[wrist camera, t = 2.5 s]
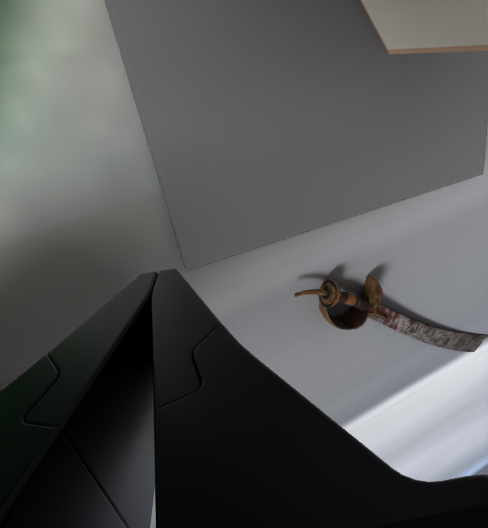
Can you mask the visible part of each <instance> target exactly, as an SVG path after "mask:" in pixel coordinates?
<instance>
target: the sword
mask: <svg viewBox="0 0 488 528" xmlns="http://www.w3.org/2000/svg"><path fill="white" fill-rule="evenodd" d="M306 294H317V295H319V301H320V303H319V308H320V311H321V312H322V314H323V316H324V317H325V319H326V320H327V321H328V322H329V323H330V324H331V325H333V326H335V327H337V328H339V329H344V330H350V329H357V328H359V327H361V326H362V325H363V324H364V323H365V322H366V320H367V318H368V317H369V318H371V319H373V320H375V321H377V322H379V323H382V324H384V325H386V326H388V327H390V328H392V329H394V330H397V331H399V332H401V333H404V334H406V335H408V336H410V337H413V338H415V339H417V340H420V341H423V342H425V343H428V344H431V345H435V346H438V347H442V348H446V349H450V350H456V351H466V352H474V351H475V350H476V349H477V348H478V347H479V346H480V344H481V343H482V340H484V339H485V338H487V337H488V335H481V334H471V333H463V332H456V331H450V330H445V329H440V328H437V327H433V326H430V325H427V324H424V323H421V322H418V321H416V320H413V319H411V318H408V317H406V316H404V315H402V314H399V313H397V312H395V311H393V310H391V309H389V308H387V307H385V306H383V305H380V304H379V303H380V302H381V300H382V296H383V292H382V288H381V286H380V285H379V284H378V283H377V282H376V281H375V280H374V279H373V278H371V277H366V281H365V286H364V289H363V291H362V293H361V294H360V296H356V295H355V294H353V293H351V292H342V291H340V288H339V286H338V285H337V283H336V282H335V281H334V280H333V279H327V280H325V282H324V283H323V284H322V286H321V288H320V289H312V290H305V291H301V292H298V293H295V294H294V295H295V297H297V296H300V295H306ZM338 301H339V302H341V303H343V304H345V305H349V306H352V307H351V308H350V309H349V310H347V311H346V312H345V313H344V314H343V315H341V316H329V315H328V312H327V308H330V307H332V306H335V305H336V304H337V303H338Z"/></svg>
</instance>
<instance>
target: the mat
mask: <svg viewBox="0 0 488 528" xmlns="http://www.w3.org/2000/svg"><path fill="white" fill-rule="evenodd" d="M105 3H106V6H107V10H108V13H109V16H110V19H111V23H112V26H113V29H114V33H115V36H116V39H117V43H118V46H119V49H120V53H121V56H122V59H123V63H124V66H125V69H126V73H127V76H128V79H129V82H130V86H131V89H132V92H133V96H134V99H135V102H136V106H137V109H138V112H139V116H140V119H141V122H142V126H143V129H144V132H145V135H146V139H147V142H148V145H149V149H150V152H151V155H152V159H153V162H154V165H155V169H156V172H157V175H158V179H159V182H160V185H161V188H162V192H163V195H164V198H165V202H166V205H167V208H168V212H169V215H170V218H171V222H172V225H173V228H174V232H175V235H176V238H177V242H178V245H179V248H180V251H181V255H182V258H183V261H184V265H185V267H186V270H187V271H188V270H191V269H194V268H197V267H200V266H204V265H207V264H210V263H213V262H216V261H219V260H222V259H225V258H228V257H231V256H234V255H237V254H240V253H243V252H246V251H249V250H252V249H256V248H259V247H262V246H265V245H268V244H271V243H274V242H277V241H280V240H283V239H286V238H289V237H292V236H295V235H298V234H301V233H304V232H308V231H311V230H314V229H317V228H320V227H323V226H326V225H329V224H332V223H335V222H338V221H341V220H344V219H347V218H350V217H353V216H356V215H360V214H363V213H366V212H369V211H372V210H375V209H378V208H381V207H384V206H387V205H390V204H393V203H396V202H399V201H402V200H405V199H408V198H412V197H415V196H418V195H421V194H424V193H427V192H430V191H433V190H436V189H439V188H442V187H445V186H448V185H451V184H454V183H457V182H460V181H464V180H467V179H470V178H473V177H476V176H479V175H482V174H483V170H484V159H485V147H486V136H487V125H488V51H470V52H441V53H411V54H389V53H388V51H387V49H386V47H385V45H384V44H383V42H382V40H381V38H380V36H379V34H378V32H377V31H376V29H375V27H374V25H373V23H372V21H371V20H370V18H369V16H368V14H367V12H366V10H365V8H364V7H363V5H362V3H361V1H360V0H105Z"/></svg>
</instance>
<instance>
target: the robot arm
mask: <svg viewBox="0 0 488 528" xmlns="http://www.w3.org/2000/svg"><path fill="white" fill-rule="evenodd" d="M154 489H155V501H156V528H488V475H473V476H465V477H460V478H454V479H449V480H444V481H436V482H425V481H419V480H414V479H412V478H409V477H406V476H404V475H402V474H400V473H399V472H397V471H396V470H394V469H393V468H391V467H390V466H389V465H388V464H386V463H385V462H384V461H383V460H382V459H380V458H379V457H378V456H377V455H375V454H374V453H373V452H372V451H370V450H369V449H368V448H367V447H366V446H364V445H363V444H362V443H361V442H359V441H358V440H357V439H356V438H354V437H353V436H352V435H351V434H349V433H348V432H347V431H346V430H345V429H343V428H342V427H341V426H340V425H338V424H337V423H336V422H335V421H333V420H332V419H331V418H330V417H328V416H327V415H326V414H325V413H324V412H322V411H321V410H320V409H319V408H317V407H316V406H315V405H314V404H312V403H311V402H310V401H309V400H308V399H306V398H305V397H304V396H303V395H301V394H300V393H299V392H298V391H296V390H295V389H294V388H293V387H291V386H290V385H289V384H288V383H287V382H285V381H284V380H283V379H282V378H280V377H279V376H278V375H277V374H275V373H274V372H273V371H272V370H271V369H269V368H268V367H267V366H266V365H264V364H263V363H262V362H261V361H259V360H258V359H257V358H256V357H254V356H253V355H252V354H251V353H250V352H249V351H248V350H246V349H245V348H244V347H243V346H242V345H241V344H240V343H239V342H238V341H237V340H236V339H235V338H234V337H233V336H232V335H231V333H230V332H229V331H228V330H227V329H226V328H225V326H224V325H222V323H221V322H220V321H219V320H218V319H217V317H216V316H215V315H214V314H213V313H212V311H211V310H210V309H209V308H208V307H207V305H206V304H205V303H204V302H203V301H202V299H201V298H200V297H199V296H198V295H197V293H196V292H195V291H194V290H193V289H192V288H191V286H190V285H189V284H188V283H187V282H186V280H185V279H184V278H183V277H182V276H181V274H180V273H179V272H178V271H177V270H176V269H169V270H163V271H160V272H159V274H158V273H157V272H151V273H145V274H141V275H140V276H138V277H137V278H136V279H135V280H134V281H133V282H131V283H130V284H129V285H128V286H127V287H126V288H124V289H123V290H122V291H121V292H120V293H118V294H117V295H116V296H115V297H114V298H113V299H111V300H110V301H109V302H108V303H107V304H106V305H104V306H103V307H102V308H101V309H100V310H98V311H97V312H96V313H95V314H94V315H93V316H91V317H90V318H89V319H88V320H87V321H85V322H84V323H83V324H82V325H81V326H80V327H78V328H77V329H76V330H75V331H74V332H73V333H71V334H70V335H69V336H68V337H67V338H65V339H64V340H63V341H62V342H61V343H60V344H58V345H57V346H56V347H55V348H54V349H53V350H51V351H50V352H49V353H48V355H45V356H43V357H42V358H41V359H40V360H39V361H38V362H36V363H35V364H34V365H33V366H32V367H30V368H29V369H28V370H27V371H25V372H24V373H23V374H22V375H21V376H19V377H18V378H17V379H16V380H14V381H13V382H12V383H11V384H9V385H8V386H7V387H5V388H4V389H3V390H1V391H0V528H150V524H151V515H152V506H153V498H154Z"/></svg>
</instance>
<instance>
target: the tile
mask: <svg viewBox="0 0 488 528" xmlns="http://www.w3.org/2000/svg"><path fill="white" fill-rule="evenodd" d="M360 1H361V3H362V5H363V7H364V8H365V10H366V12H367V14H368V16H369V18H370V20H371V21H372V23H373V25H374V27H375V29H376V31H377V32H378V34H379V36H380V38H381V40H382V42H383V44H384V45H385V47H386V49H387V51H388V53H389V54H411V53H441V52H470V51H488V0H360Z"/></svg>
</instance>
